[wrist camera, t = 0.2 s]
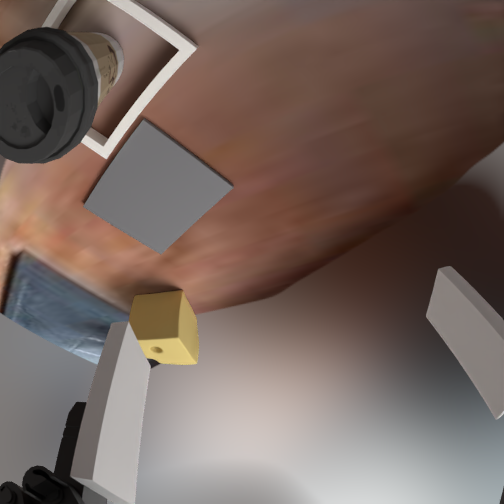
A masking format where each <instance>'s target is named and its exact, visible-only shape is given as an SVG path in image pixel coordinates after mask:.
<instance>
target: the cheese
mask: <svg viewBox="0 0 504 504" xmlns="http://www.w3.org/2000/svg"><path fill="white" fill-rule="evenodd" d="M129 323H130V326H131V328H132V330H133V332H134V334H135V336H136V338H137V340H138V342H139V345H140V347H141V349H142V351H143V353H144V355H145V357H146V358H151V359H155V360H157V361H158V362H159V363H162V364H179V365H189V364H196V363H197V360H198V352H199V339H198V330H197V319H196V316H195V314H194V312H193V310H192V308H191V306H190V304H189V302H188V300H187V298H186V296H185V294H184V292H183V290H179V291H169V292H162V293H155V294H144V295H135V296H134V300H133V303H132V306H131V311H130V316H129Z"/></svg>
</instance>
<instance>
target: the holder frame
mask: <svg viewBox="0 0 504 504" xmlns="http://www.w3.org/2000/svg"><path fill="white" fill-rule="evenodd" d="M107 1H109V2H111V3H112V4H114V5H115V6H117V7H119V8H120V9H122V10H123V11H125V12H126V13H128V14H129V15H131V16H132V17H134V18H135V19H137V20H138V21H140V22H141V23H143V24H144V25H146V26H147V27H148V28H150V29H151V30H153V31H154V32H155V33H157V34H158V35H160V36H161V37H162V38H164V39H165V40H167V41H168V42H169V43H171V44H172V45H173V46H175V47H176V48H177V49H179V51H178V52H177V53H176V55H175V56H174V57H173V58H172V59H171V60H170V61H169V62H168V63H167V64H166V66H165V67H164V68H163V69H162V70H161V71H160V72H159V74H158V75H157V76H156V77H155V78H154V80H153V81H152V82H151V83H150V84H149V86H148V87H147V88H146V89H145V90H144V92H143V93H142V94H141V95H140V97H139V98H138V99H137V101H136V102H135V103H134V104H133V106H132V107H131V108H130V110H129V111H128V112H127V114H126V115H125V116H124V118H123V119H122V121H121V122H120V123H119V125H118V126H117V128H116V129H115V130H114V132H113V133H112V135H111V136H110V138H109V139H107V138H106V137H105V136H103V135H102V134H100V133H99V132H97V131H96V130H94V129H93V128H90V129H89V131H88V132H87V133H86V135H85V136H84V138H83V139H82V141H81V142H82V143H83V144H85V145H86V146H88V147H89V148H90V149H92V150H93V151H95V152H96V153H98V154H99V155H101V156H102V157H104V158H105V159H107V158H108V156H109V155H110V153H111V152H112V151H113V149H114V148H115V146H116V145H117V143H118V142H119V141H120V139H121V138H122V136H123V135H124V134H125V132H126V131H127V130H128V128H129V127H130V126H131V124H132V123H133V122H134V120H135V119H136V118H137V116H138V115H139V114H140V113H141V111H142V110H143V109H144V108H145V106H146V105H147V104H148V103H149V101H150V100H151V99H152V98H153V97H154V95H155V94H156V93H157V92H158V91H159V89H160V88H161V87H162V86H163V85H164V84H165V82H166V81H167V80H168V79H169V78H170V77H171V76H172V75H173V73H174V72H175V71H176V70H177V69H178V68H179V67H180V66H181V65H182V64H183V63H184V62H185V60H186V59H187V58H188V57H189V56H190V55H191V54H192V53H193V52H194V51H195V50H196V49H197V48H198V47H199V46H198V45H196V44H195V43H194V42H193V41H191V40H190V39H189V38H187V37H186V36H185V35H183V34H182V33H181V32H179V31H178V30H177V29H175V28H174V27H173V26H171V25H170V24H169V23H167V22H166V21H164V20H163V19H162V18H160V17H159V16H157V15H156V14H154V13H153V12H152V11H150V10H149V9H147V8H146V7H144V6H143V5H141V4H140V3H138V2H137V1H135V0H107ZM75 2H76V0H58V1H57V3H56V4H55V6H54V8H53V9H52V11H51V12H50V14H49V15H48V17H47V19H46V20H45V22H44V24H43V25H42V27H50V28H54V29H58V27H59V25H60V24H61V22H62V21H63V19H64V18H65V16H66V15H67V13H68V12H69V10H70V9H71V7H72V6H73V4H74V3H75Z"/></svg>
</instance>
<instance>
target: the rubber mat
mask: <svg viewBox="0 0 504 504" xmlns="http://www.w3.org/2000/svg"><path fill="white" fill-rule="evenodd" d="M232 189H233V184H231V183H230V182H229V181H227V180H226V179H225V178H224V177H222V176H221V175H220V174H218V173H217V172H216V171H215V170H213V169H212V168H211V167H209V166H208V165H207V164H205V163H204V162H203V161H202V160H200V159H199V158H198V157H196V156H195V155H194V154H192V153H191V152H190V151H188V150H187V149H186V148H184V147H183V146H182V145H180V144H179V143H178V142H176V141H175V140H174V139H172V138H171V137H170V136H168V135H167V134H166V133H164V132H163V131H162V130H160V129H159V128H157V127H156V126H155V125H153V124H152V123H151V122H149V121H148V120H146V119H145V118H144V119H143V121H142V122H141V123H140V124H139V126H138V127H137V128H136V130H135V131H134V132H133V134H132V135H131V136H130V138H129V139H128V140H127V142H126V143H125V144H124V146H123V147H122V148H121V150H120V151H119V153H118V154H117V155H116V157H115V158H114V160H113V161H112V163H111V164H110V165H109V167H108V168H107V170H106V171H105V173H104V174H103V176H102V177H101V179H100V180H99V182H98V183H97V185H96V187H95V188H94V190H93V191H92V193H91V195H90V196H89V198H88V199H87V201H86V203H85V204H84V206H83V207H84V208H86V209H87V210H89V211H91V212H92V213H94V214H95V215H97V216H99V217H100V218H102V219H103V220H105V221H107V222H108V223H110V224H111V225H113V226H115V227H116V228H118V229H120V230H121V231H123V232H124V233H126V234H128V235H129V236H131V237H133V238H134V239H136V240H138V241H139V242H141V243H143V244H144V245H146V246H148V247H149V248H151V249H153V250H154V251H156V252H158V253H160V254H162V253H163V252H164V251H165V250H166V249H167V248H168V247H169V246H170V245H171V244H172V243H174V242H175V241H176V240H177V239H178V238H179V237H180V236H181V235H182V234H183V233H184V232H185V231H186V230H187V229H188V228H190V227H191V226H192V225H193V224H194V223H195V222H196V221H197V220H198V219H199V218H200V217H201V216H203V215H204V214H205V213H206V212H207V211H208V210H209V209H210V208H211V207H212V206H214V205H215V204H216V203H217V202H218V201H219V200H220V199H221V198H222V197H224V196H225V195H226V194H227V193H228V192H229V191H230V190H232Z"/></svg>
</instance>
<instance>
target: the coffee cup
mask: <svg viewBox="0 0 504 504" xmlns="http://www.w3.org/2000/svg"><path fill="white" fill-rule="evenodd" d="M123 65H124V55H123V51H122V48H121V47H120V45H119V43H118V42H117V41H116V40H115V39H113V38H112V37H111V36H109V35H106V34H103V33H100V32H66V31H63V30H59V29H54V28H50V27H41V28H36V29H31V30H27V31H25V32H23V33H22V34H20V35H18V36H17V37H15V38H13V39H12V40H10V41H9V42H7V43H6V44H4V45H3V46H2V48H1V49H0V154H1V155H2V156H3V157H5V158H6V159H9V160H11V161H14V162H17V163H30V164H33V163H47V162H49V161H52V160H55V159H59V158H61V157H62V156H63V155H65V154H67V153H68V152H69V151H70V150H72V149H73V148H74V147H76V146H77V145H78V144H79V143H80V142H81V141H82V139H83V138H84V136H85V135H86V133H87V132H88V131H89V129H90V128H91V126H92V122H93V119H94V116H95V113H96V110H97V107H98V106H99V105H100V103H101V102H102V100H103V99H104V98H105V96H106V95H107V94H108V92H109V91H110V90H111V89H112V87H113V86H114V85H115V83H116V82H117V81H118V80H119V78H120V75H121V73H122V70H123Z"/></svg>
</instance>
